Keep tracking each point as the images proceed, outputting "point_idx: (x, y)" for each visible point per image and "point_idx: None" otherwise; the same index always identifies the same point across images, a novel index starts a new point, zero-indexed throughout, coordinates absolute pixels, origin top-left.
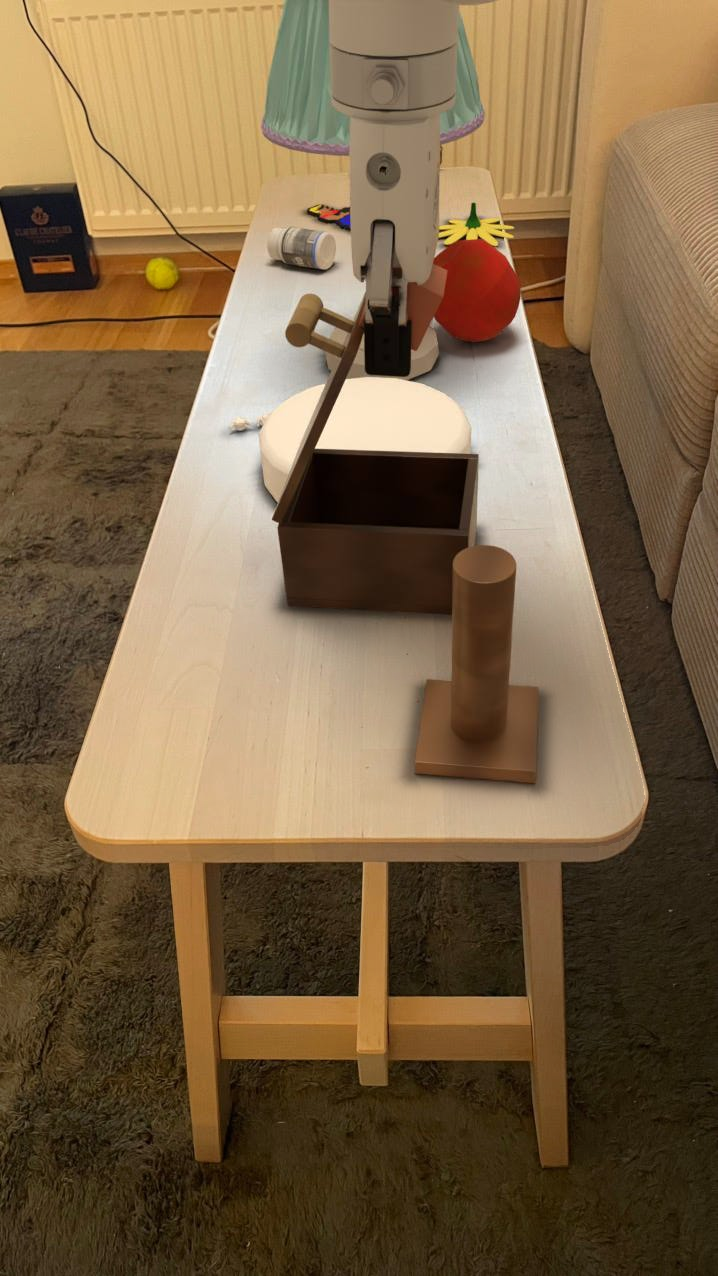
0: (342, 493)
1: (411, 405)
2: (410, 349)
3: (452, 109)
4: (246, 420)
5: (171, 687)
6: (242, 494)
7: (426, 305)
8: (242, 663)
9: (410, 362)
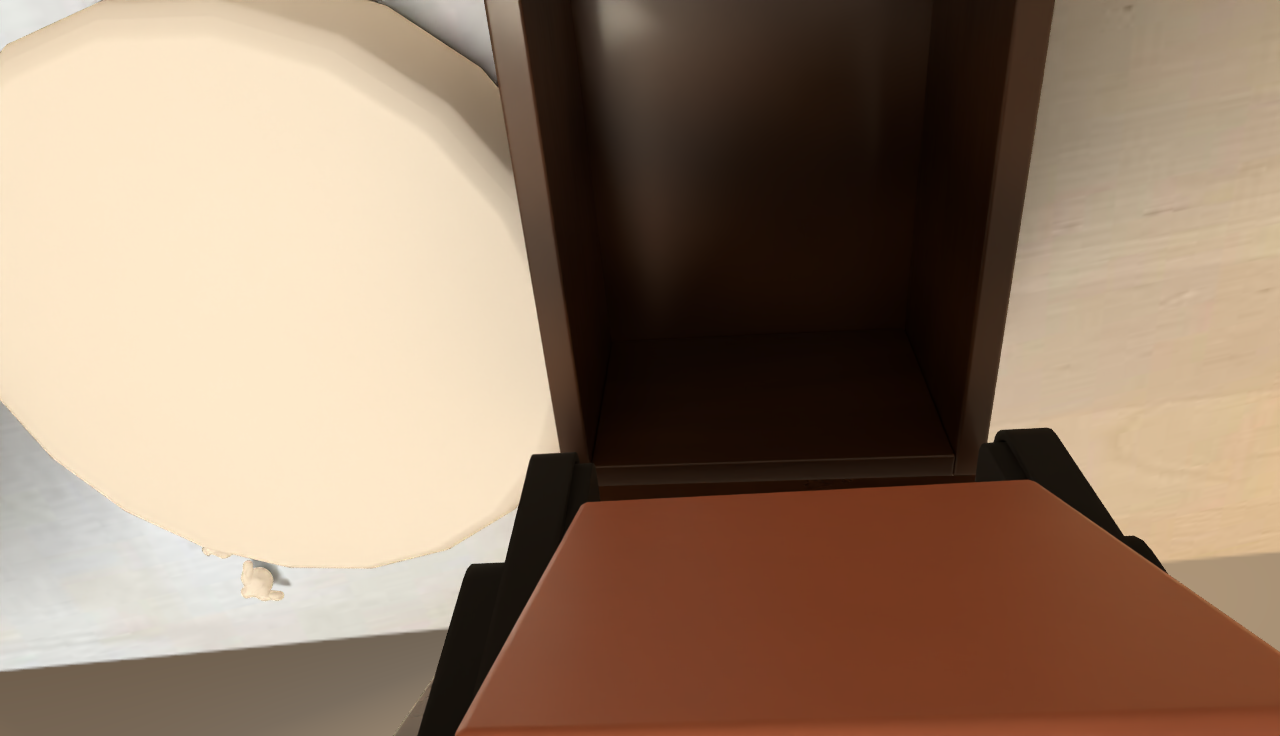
0: (594, 328)
1: (89, 233)
2: (1115, 536)
3: None
4: (247, 577)
5: (1181, 476)
6: (513, 511)
7: None
8: (1121, 374)
9: (1059, 469)
